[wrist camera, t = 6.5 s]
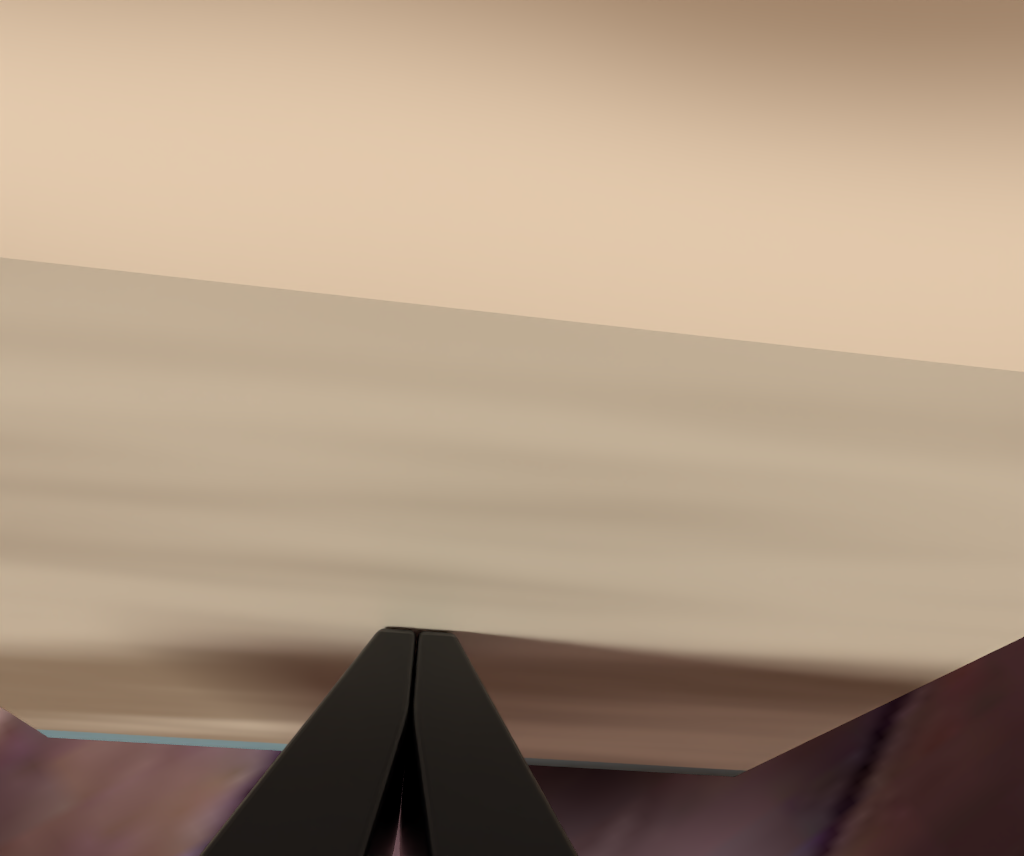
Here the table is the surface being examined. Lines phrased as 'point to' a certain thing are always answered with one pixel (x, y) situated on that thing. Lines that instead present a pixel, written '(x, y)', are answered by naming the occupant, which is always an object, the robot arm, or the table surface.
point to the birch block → (509, 362)
